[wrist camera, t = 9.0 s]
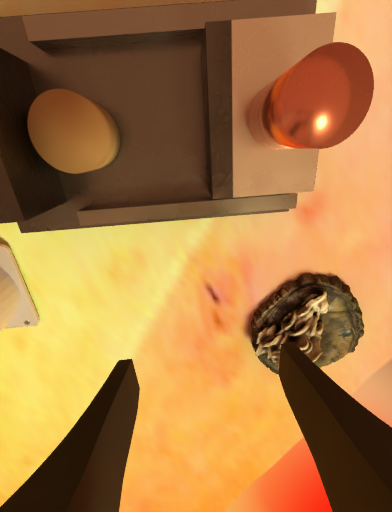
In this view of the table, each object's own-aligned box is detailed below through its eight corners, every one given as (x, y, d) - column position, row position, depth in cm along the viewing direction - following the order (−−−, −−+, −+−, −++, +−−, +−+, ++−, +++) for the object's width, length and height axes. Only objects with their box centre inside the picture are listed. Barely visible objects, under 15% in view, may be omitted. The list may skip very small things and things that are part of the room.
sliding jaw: (208, 191, 17) (226, 223, 10) (201, 47, 14) (220, -68, 6) (292, 184, 17) (374, 211, 10) (306, 39, 14) (443, -84, 6)
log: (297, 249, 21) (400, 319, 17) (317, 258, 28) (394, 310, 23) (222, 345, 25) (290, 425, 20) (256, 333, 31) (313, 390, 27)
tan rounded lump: (66, 171, 16) (42, 176, 14) (46, 102, 15) (15, 91, 12) (125, 166, 16) (113, 170, 14) (112, 97, 15) (96, 85, 12)
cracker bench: (30, 228, 19) (-35, 262, 13) (-43, 31, 14) (-195, -47, 8) (282, 207, 19) (323, 232, 14) (298, 6, 14) (372, -86, 9)
